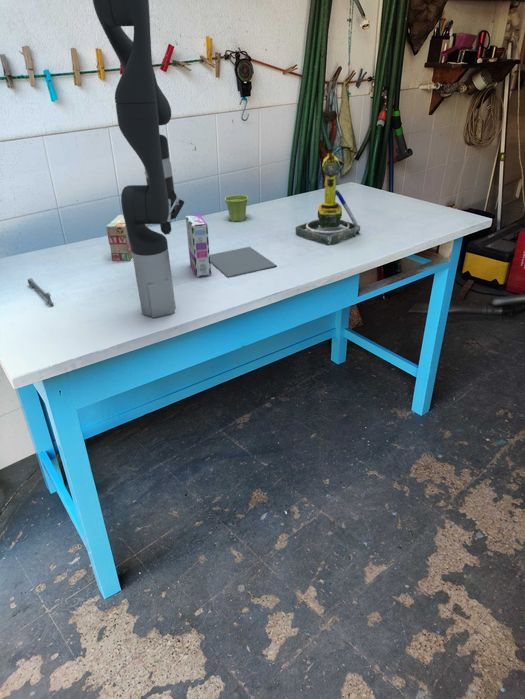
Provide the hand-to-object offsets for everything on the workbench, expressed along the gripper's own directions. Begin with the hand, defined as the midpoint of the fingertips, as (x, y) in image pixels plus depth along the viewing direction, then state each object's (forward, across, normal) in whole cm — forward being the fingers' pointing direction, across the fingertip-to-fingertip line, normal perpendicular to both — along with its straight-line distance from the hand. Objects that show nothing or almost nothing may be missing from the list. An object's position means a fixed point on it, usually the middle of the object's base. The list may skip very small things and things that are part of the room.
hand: (166, 233), depth 157 cm
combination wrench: (+14, -39, +4) cm, 41 cm away
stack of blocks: (+14, -5, +28) cm, 32 cm away
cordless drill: (+13, +61, +5) cm, 63 cm away
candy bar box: (+13, +9, -2) cm, 16 cm away
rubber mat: (+13, +22, -2) cm, 26 cm away
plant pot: (+13, +41, +40) cm, 59 cm away
